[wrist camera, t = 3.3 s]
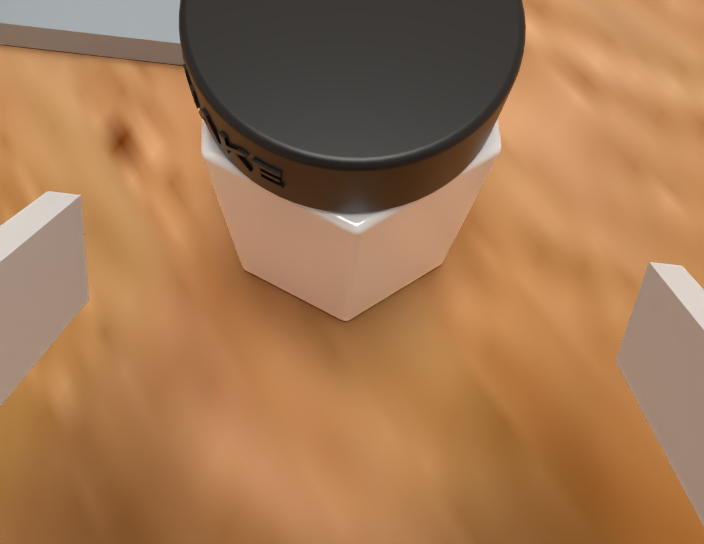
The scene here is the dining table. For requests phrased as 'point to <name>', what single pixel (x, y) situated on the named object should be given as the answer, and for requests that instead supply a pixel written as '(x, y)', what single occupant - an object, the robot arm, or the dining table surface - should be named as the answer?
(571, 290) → the dining table surface
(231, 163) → the jar
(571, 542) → the dining table surface
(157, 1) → the dock bay
